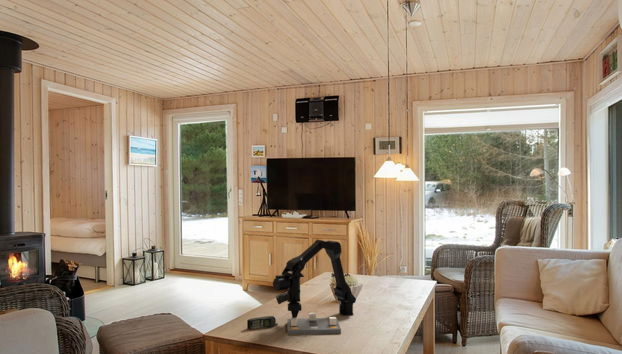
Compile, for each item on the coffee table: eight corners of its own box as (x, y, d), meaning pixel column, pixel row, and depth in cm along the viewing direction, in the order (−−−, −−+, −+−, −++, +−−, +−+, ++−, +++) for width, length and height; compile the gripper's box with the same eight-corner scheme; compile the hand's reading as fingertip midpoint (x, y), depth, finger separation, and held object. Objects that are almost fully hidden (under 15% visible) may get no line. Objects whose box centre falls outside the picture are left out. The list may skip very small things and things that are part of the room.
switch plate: (336, 322, 209) (336, 317, 209) (340, 333, 193) (340, 329, 193) (287, 322, 208) (287, 318, 208) (287, 334, 192) (287, 330, 192)
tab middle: (315, 318, 207) (315, 312, 207) (315, 320, 205) (315, 314, 205) (309, 319, 207) (309, 312, 207) (309, 320, 204) (309, 314, 204)
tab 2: (335, 323, 200) (335, 316, 201) (336, 325, 198) (336, 318, 198) (329, 323, 200) (329, 317, 200) (329, 325, 198) (329, 318, 198)
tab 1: (297, 324, 199) (297, 317, 199) (297, 325, 197) (297, 319, 197) (290, 324, 199) (290, 317, 199) (290, 325, 197) (291, 319, 197)
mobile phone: (247, 320, 197) (278, 315, 203) (246, 318, 200) (276, 313, 206) (248, 331, 197) (279, 326, 203) (246, 329, 200) (277, 324, 206)
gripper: (277, 282, 211) (277, 314, 211) (276, 292, 192) (276, 327, 192) (299, 282, 212) (299, 314, 211) (301, 292, 193) (301, 327, 193)
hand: (294, 320), depth 202 cm, fingers closed
